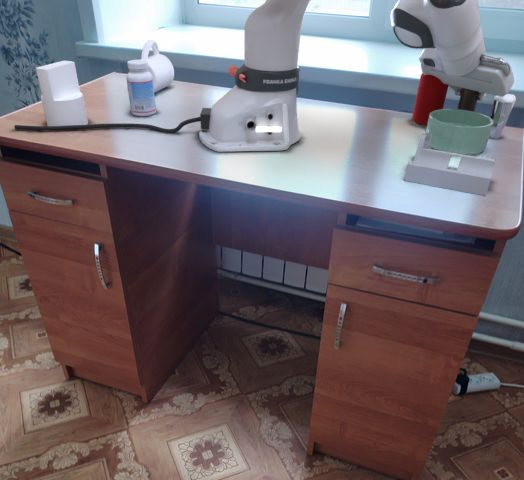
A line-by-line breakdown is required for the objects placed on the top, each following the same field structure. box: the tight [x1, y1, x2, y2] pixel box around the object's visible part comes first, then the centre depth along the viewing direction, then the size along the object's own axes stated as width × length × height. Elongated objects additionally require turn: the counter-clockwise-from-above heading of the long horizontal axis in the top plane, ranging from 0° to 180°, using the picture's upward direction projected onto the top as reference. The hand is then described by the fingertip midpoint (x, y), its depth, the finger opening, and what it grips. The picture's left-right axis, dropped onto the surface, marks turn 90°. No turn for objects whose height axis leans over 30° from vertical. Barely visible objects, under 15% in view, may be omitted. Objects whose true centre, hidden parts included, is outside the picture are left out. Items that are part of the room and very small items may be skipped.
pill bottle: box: [125, 59, 157, 117], centre depth 120 cm, size 6×6×11 cm
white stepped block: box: [35, 60, 89, 126], centre depth 112 cm, size 9×9×12 cm
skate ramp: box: [403, 132, 497, 197], centre depth 97 cm, size 15×13×5 cm
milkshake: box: [489, 93, 517, 139], centre depth 115 cm, size 5×5×10 cm
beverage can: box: [411, 73, 450, 127], centre depth 120 cm, size 7×7×12 cm
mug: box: [128, 39, 175, 94], centre depth 136 cm, size 8×10×12 cm
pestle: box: [456, 88, 479, 112], centre depth 116 cm, size 5×5×12 cm
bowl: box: [424, 108, 493, 156], centre depth 110 cm, size 13×13×6 cm
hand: (470, 95), depth 117 cm, fingers closed on pestle, 4 cm apart
